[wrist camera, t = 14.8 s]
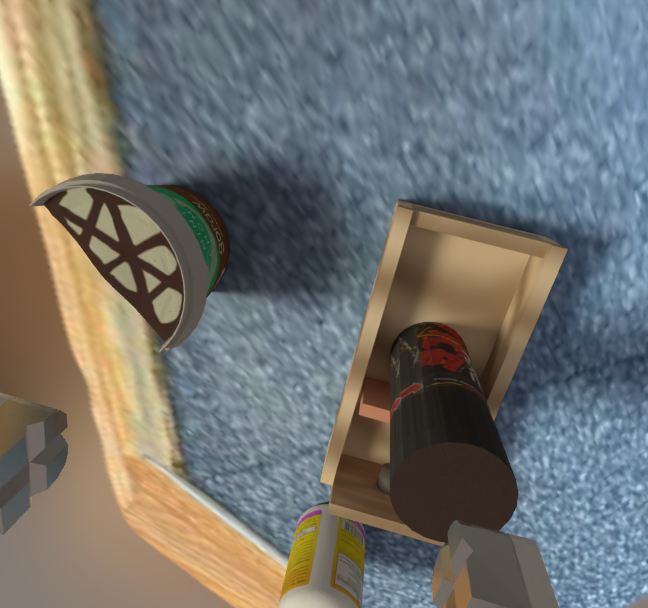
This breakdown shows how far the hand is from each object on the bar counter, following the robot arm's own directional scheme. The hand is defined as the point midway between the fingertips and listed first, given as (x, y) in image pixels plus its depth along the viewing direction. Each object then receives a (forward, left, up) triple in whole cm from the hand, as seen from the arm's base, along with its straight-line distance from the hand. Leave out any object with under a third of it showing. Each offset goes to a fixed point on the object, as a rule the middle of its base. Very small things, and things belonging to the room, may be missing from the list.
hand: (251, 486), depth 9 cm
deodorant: (+8, +8, -26) cm, 28 cm away
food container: (+2, -12, -27) cm, 30 cm away
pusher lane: (+8, +8, -27) cm, 29 cm away
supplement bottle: (+28, +5, -27) cm, 39 cm away
